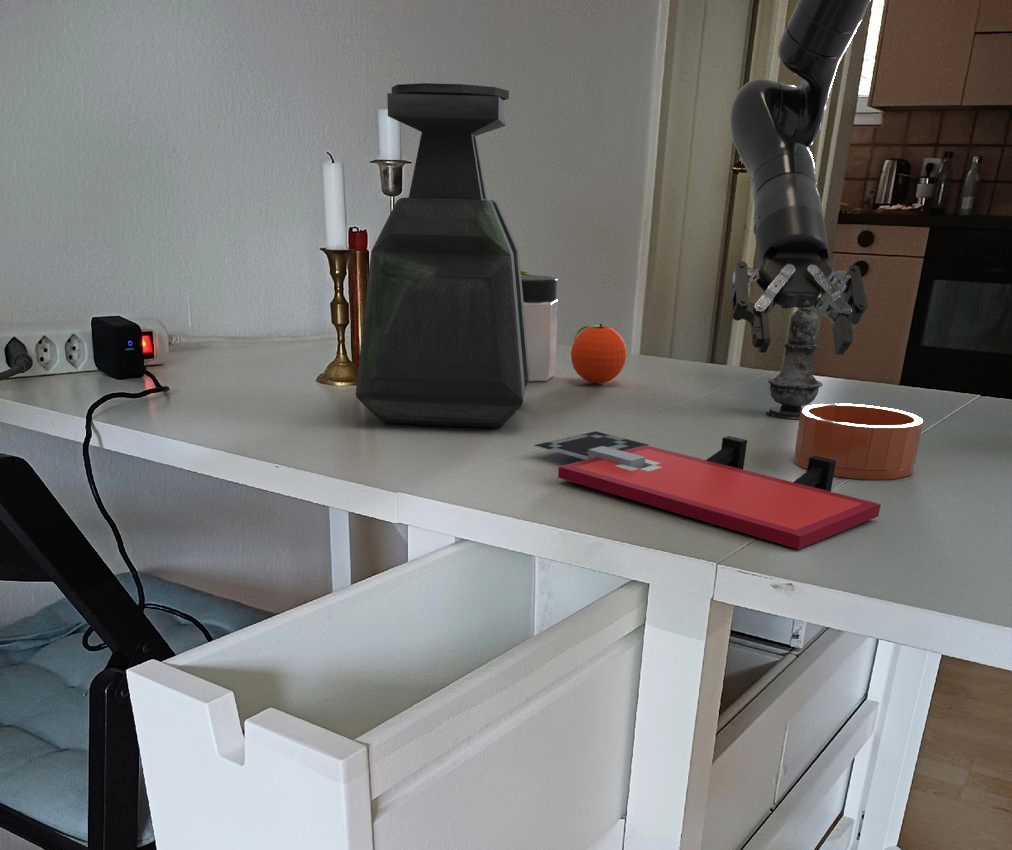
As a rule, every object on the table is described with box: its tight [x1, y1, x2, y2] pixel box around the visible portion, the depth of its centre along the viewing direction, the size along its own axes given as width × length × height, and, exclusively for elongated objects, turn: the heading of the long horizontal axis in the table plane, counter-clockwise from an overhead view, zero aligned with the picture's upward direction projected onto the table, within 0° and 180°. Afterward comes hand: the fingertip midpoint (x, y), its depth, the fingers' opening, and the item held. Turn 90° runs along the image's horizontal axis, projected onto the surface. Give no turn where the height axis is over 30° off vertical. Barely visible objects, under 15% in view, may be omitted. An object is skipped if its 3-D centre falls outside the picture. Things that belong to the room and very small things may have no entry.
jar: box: [521, 274, 559, 383], centre depth 128 cm, size 9×8×12 cm
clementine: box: [570, 323, 628, 384], centre depth 127 cm, size 8×7×7 cm
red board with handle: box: [533, 431, 881, 550], centre depth 83 cm, size 30×3×15 cm
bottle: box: [355, 82, 530, 429], centre depth 101 cm, size 18×16×30 cm
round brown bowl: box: [793, 403, 924, 481], centre depth 91 cm, size 10×10×4 cm
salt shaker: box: [765, 300, 824, 420], centre depth 110 cm, size 6×6×12 cm
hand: (803, 349), depth 109 cm, fingers open, 8 cm apart
